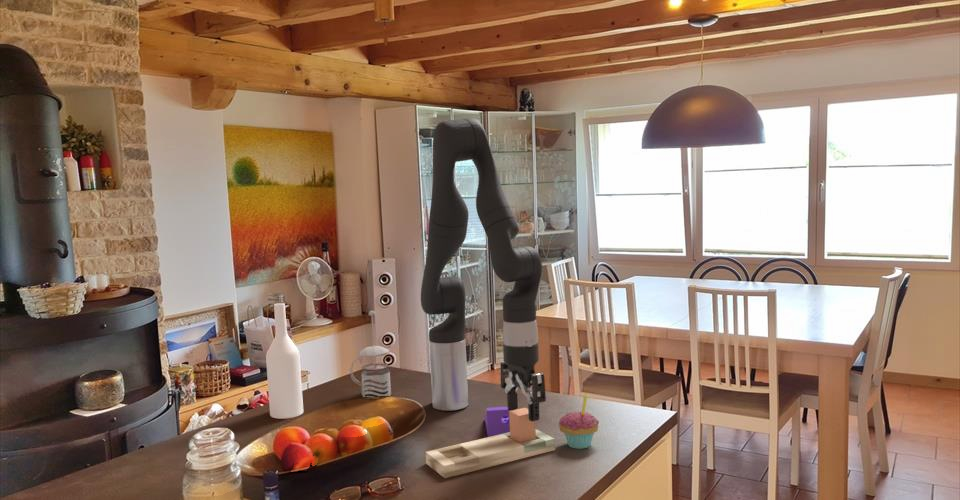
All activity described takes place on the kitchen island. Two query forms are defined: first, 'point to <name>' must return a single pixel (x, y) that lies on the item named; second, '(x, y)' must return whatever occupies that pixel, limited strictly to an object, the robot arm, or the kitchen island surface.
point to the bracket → (497, 421)
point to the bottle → (283, 371)
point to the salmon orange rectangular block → (521, 426)
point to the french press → (374, 370)
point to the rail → (485, 453)
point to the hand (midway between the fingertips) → (523, 414)
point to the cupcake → (579, 427)
